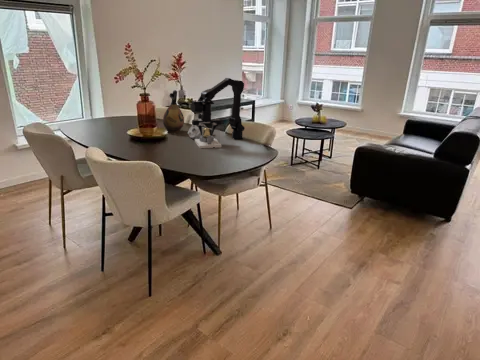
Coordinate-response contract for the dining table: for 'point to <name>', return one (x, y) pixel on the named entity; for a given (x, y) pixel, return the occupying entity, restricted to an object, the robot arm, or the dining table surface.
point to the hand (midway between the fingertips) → (206, 135)
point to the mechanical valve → (196, 131)
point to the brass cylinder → (206, 132)
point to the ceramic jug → (173, 116)
